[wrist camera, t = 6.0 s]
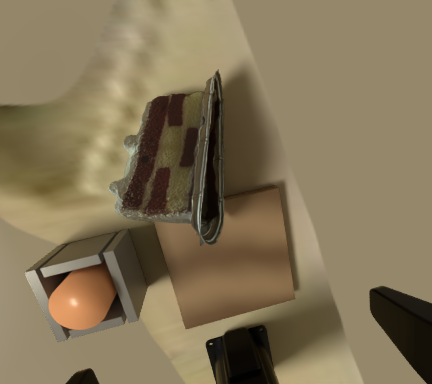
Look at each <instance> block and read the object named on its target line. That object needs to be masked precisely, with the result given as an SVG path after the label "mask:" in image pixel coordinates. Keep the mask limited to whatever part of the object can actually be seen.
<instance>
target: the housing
mask: <svg viewBox="0 0 432 384" xmlns="http://www.w3.org/2000/svg"><path fill="white" fill-rule="evenodd" d="M104 259H105V260H106V263H107V265H108V268H109V271H110V274H111V276H112V279H113V282H114V284H115V287H116V290H117V293H116V296H115V298H114V300H113V302H112V304H111V306H110V308H109V310H108V312H107V314H106V316H105V318H104V319H103V320H102V321H101V322H100V323H99V324H98V325H96V326H94V327H92V328H89V329H84V330H74V329H69V328H66V327H64V326H62V325H60V324H59V323H57V322H56V321H55V320H54V319H53V317H52V316H51V314H50V311H49V306H48V304H49V299H50V296H51V294H52V293H53V292H54V291H55V289H56V288H57V287H58V286H59V285H60V284H61V283H62V282H63V281H64V280H65V278H66V277H67V276H68V275H69V274H70V273H71V272H72V271H73V270H76V269H80V268H84V267H88V266H92V265H96V264H100V263H102V261H103V260H104ZM24 273H25V275H26V277H27V279H28V281H29V284H30V286H31V288H32V290H33V292H34V294H35V296H36V298H37V300H38V302H39V304H40V307H41V309H42V311H43V313H44V315H45V317H46V319H47V321H48V323H49V325H50V328H51V330H52V332H53V334H54V336H55V338H56V340H57V342H61V341H65V340H67V339H68V338H69V336H70V335H71V337H72V338H75V337H79V336H83V335H86V334H90V333H94V332H98V331H101V330H105V329H109V328H112V327H116V326H120V325H124V324H125V321H126V318H127V319H128V322H129V323H130V322H135V321H138V319H139V316H140V312H141V309H142V305H143V302H144V298H145V295H146V291H147V288H148V287H147V284H146V281H145V278H144V275H143V272H142V269H141V266H140V263H139V260H138V257H137V254H136V251H135V248H134V245H133V242H132V239H131V236H130V233H129V230H128V229H126V230H122V231H120V232H119V233H118V234H117V233H116V232H114V233H110V234H105V235H101V236H97V237H93V238H89V239H85V240H81V241H76V242H72V243H70V244H69V245H68V246H67V244H64V245H60V246H57V247H56V248H55V249H54V250H52V251H51V252H50V253H48V254H47V255H46V256H45V257H44V258H42V259H41V260H40V261H38V262H37V263H36V264H34V265H33V266H32V267H31V268H30V269H28V270H27V271H26V272H24Z"/></svg>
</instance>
